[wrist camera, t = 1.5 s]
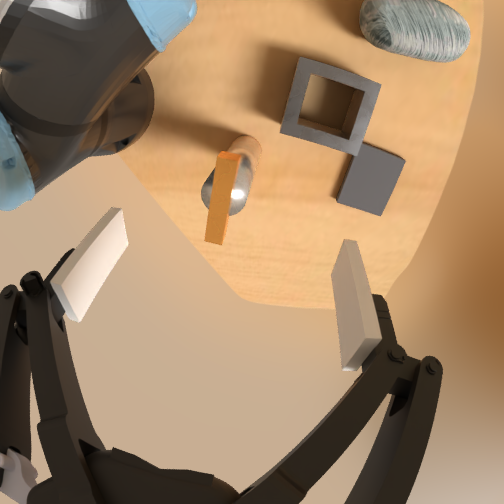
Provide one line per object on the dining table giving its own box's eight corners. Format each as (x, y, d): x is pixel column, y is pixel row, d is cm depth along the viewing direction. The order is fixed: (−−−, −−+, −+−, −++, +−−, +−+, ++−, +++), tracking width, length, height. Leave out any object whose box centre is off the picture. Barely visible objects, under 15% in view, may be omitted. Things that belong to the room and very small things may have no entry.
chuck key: (226, 173, 37) (191, 237, 25) (237, 118, 32) (202, 153, 20) (254, 180, 37) (234, 248, 25) (268, 125, 32) (253, 164, 20)
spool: (356, 64, 23) (403, 20, 14) (338, 5, 22) (371, -42, 12) (443, 85, 25) (493, 63, 15) (424, 30, 23) (464, 1, 13)
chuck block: (280, 124, 32) (279, 132, 28) (298, 58, 27) (299, 56, 23) (348, 144, 32) (356, 156, 28) (369, 82, 27) (381, 84, 23)
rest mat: (336, 199, 37) (336, 202, 37) (357, 140, 32) (359, 142, 31) (378, 213, 38) (380, 216, 37) (403, 158, 32) (405, 161, 31)
